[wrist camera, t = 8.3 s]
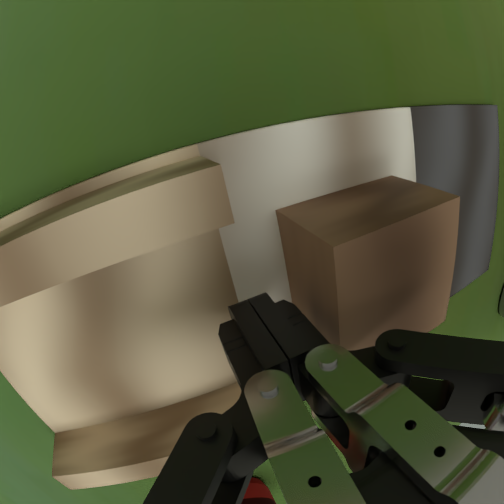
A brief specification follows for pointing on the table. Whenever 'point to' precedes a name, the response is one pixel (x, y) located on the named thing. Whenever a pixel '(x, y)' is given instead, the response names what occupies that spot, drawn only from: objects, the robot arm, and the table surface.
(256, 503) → the canned food
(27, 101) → the table surface
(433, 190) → the walnut block
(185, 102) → the table surface
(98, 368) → the corridor track
